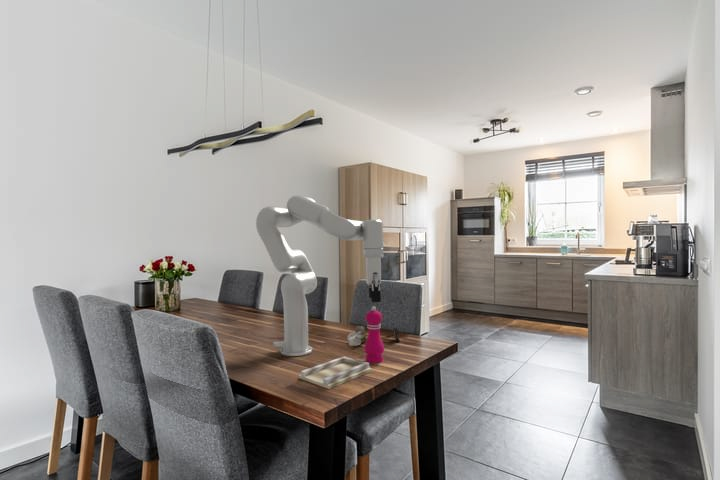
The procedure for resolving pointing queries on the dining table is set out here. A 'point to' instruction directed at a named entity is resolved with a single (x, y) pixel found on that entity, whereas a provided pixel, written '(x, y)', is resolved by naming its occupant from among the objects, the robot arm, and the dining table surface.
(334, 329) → the dining table surface
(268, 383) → the dining table surface
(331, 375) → the rail board
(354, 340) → the artificial flower
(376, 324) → the pepper mill
